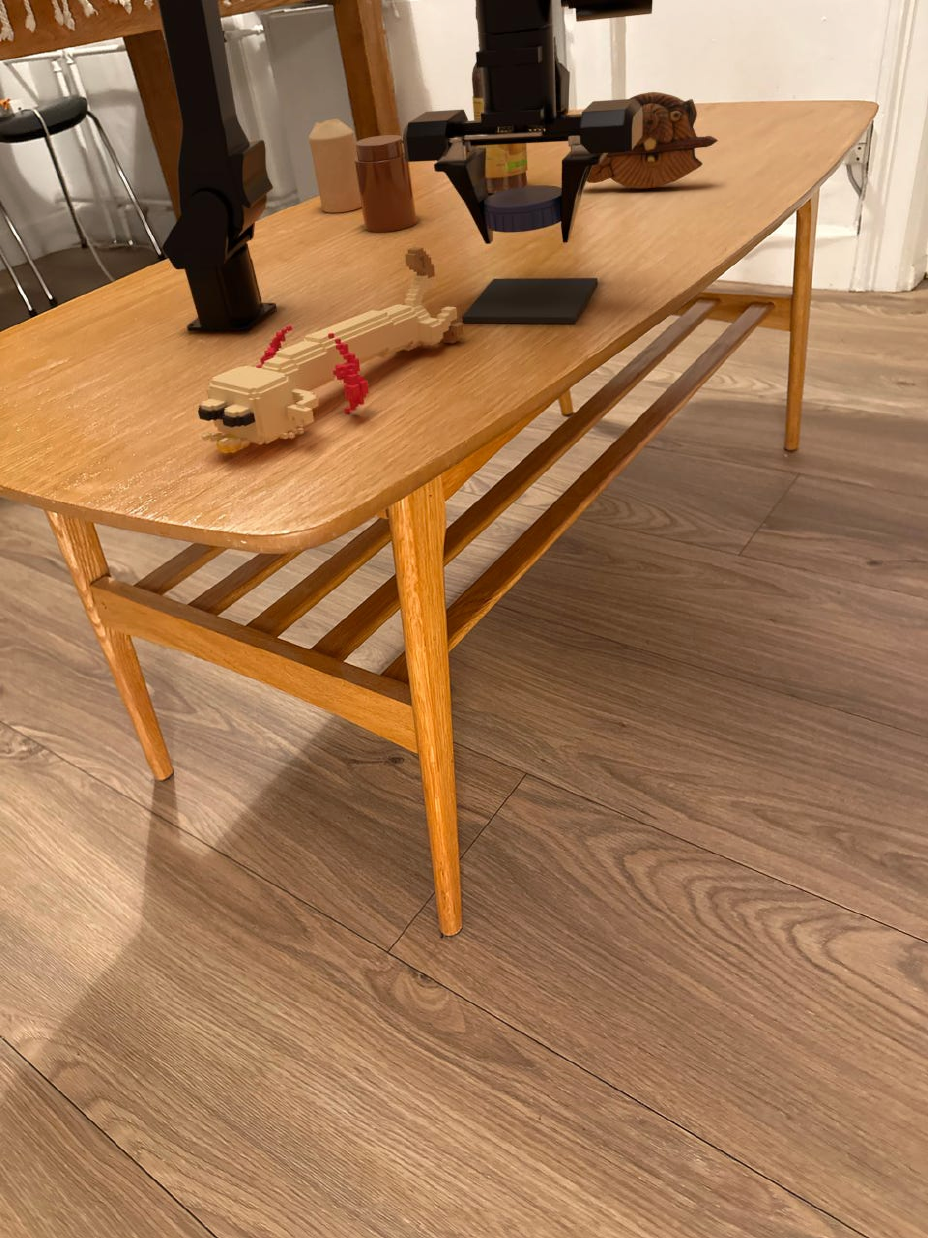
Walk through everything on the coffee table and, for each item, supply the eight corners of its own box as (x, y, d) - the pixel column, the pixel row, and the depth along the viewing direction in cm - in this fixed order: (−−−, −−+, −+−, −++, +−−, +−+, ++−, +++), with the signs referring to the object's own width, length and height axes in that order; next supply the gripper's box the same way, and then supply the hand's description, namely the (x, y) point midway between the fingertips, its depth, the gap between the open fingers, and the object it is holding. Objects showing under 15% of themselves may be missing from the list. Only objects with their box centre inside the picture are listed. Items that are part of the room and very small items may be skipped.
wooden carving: (573, 197, 110) (570, 103, 104) (578, 187, 113) (576, 95, 107) (714, 190, 106) (720, 91, 100) (715, 180, 109) (721, 84, 103)
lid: (508, 209, 82) (505, 185, 81) (579, 208, 79) (578, 183, 77) (471, 232, 77) (468, 207, 76) (545, 233, 74) (543, 206, 73)
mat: (574, 324, 77) (574, 317, 77) (462, 323, 80) (461, 316, 80) (597, 284, 84) (597, 277, 84) (494, 284, 87) (493, 278, 87)
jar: (407, 231, 106) (395, 144, 100) (357, 233, 107) (343, 147, 102) (423, 216, 110) (413, 132, 105) (375, 218, 112) (363, 135, 106)
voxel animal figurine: (393, 343, 81) (168, 441, 65) (383, 238, 76) (137, 316, 60) (485, 359, 76) (266, 470, 60) (480, 248, 71) (240, 336, 55)
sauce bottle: (518, 196, 113) (506, 3, 101) (472, 196, 115) (455, 8, 103) (536, 182, 118) (526, -3, 106) (491, 183, 120) (476, 1, 108)
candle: (357, 211, 115) (343, 123, 109) (316, 214, 117) (300, 126, 111) (369, 200, 120) (356, 114, 114) (330, 202, 121) (314, 117, 115)
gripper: (654, 5, 73) (650, 213, 82) (434, 25, 78) (454, 218, 88) (631, 23, 64) (629, 251, 74) (387, 44, 70) (414, 254, 80)
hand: (527, 241), depth 79 cm, fingers closed on lid, 6 cm apart
